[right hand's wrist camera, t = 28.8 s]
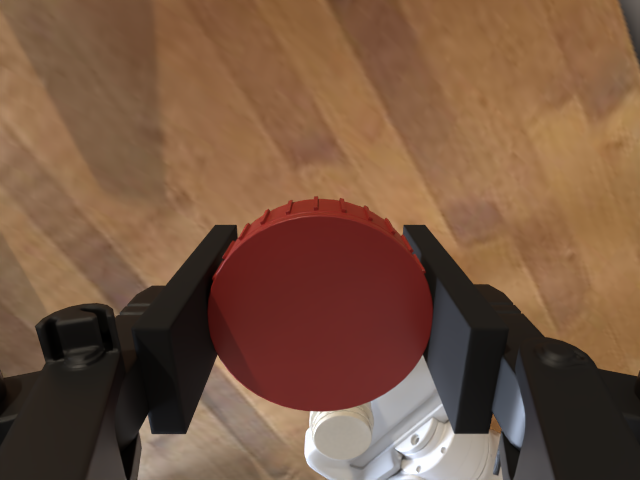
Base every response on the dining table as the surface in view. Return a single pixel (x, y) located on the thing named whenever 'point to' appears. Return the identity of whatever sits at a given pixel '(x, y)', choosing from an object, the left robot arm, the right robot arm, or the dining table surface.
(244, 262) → the lid
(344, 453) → the jar
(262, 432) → the dining table surface
